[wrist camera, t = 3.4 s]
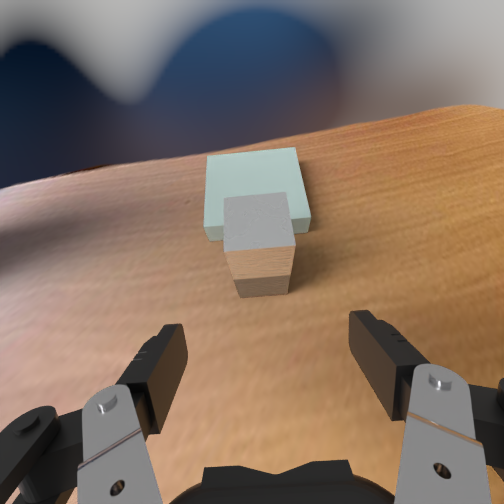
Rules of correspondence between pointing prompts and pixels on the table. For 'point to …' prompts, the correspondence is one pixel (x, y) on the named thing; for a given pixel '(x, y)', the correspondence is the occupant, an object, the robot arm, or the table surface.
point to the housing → (259, 243)
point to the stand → (254, 185)
